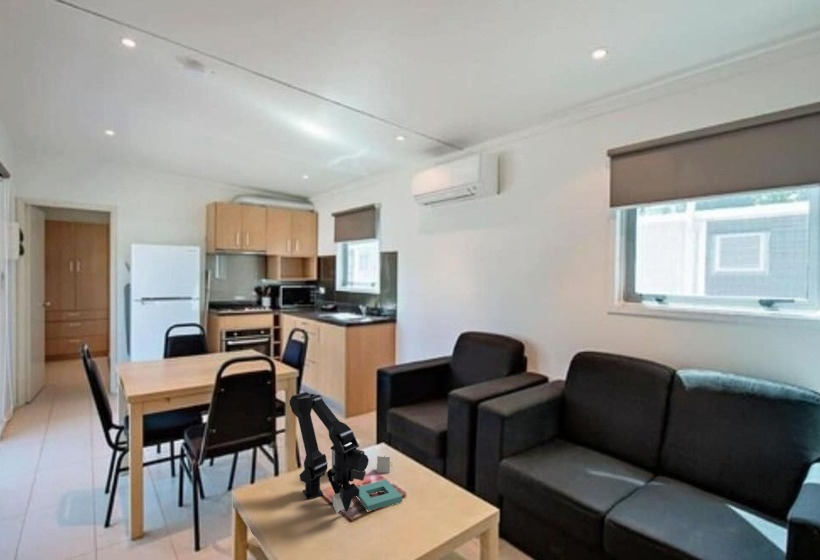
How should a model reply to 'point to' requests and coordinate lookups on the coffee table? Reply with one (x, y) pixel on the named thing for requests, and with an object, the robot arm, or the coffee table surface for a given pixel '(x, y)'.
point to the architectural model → (384, 464)
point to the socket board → (378, 501)
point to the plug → (338, 503)
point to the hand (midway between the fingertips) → (342, 504)
